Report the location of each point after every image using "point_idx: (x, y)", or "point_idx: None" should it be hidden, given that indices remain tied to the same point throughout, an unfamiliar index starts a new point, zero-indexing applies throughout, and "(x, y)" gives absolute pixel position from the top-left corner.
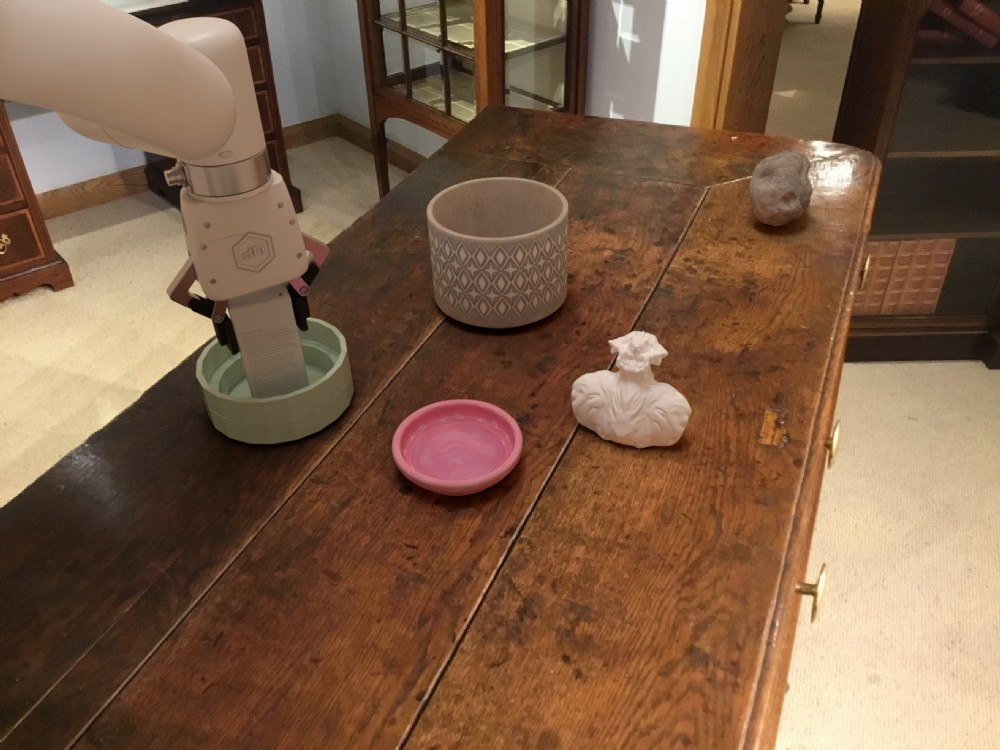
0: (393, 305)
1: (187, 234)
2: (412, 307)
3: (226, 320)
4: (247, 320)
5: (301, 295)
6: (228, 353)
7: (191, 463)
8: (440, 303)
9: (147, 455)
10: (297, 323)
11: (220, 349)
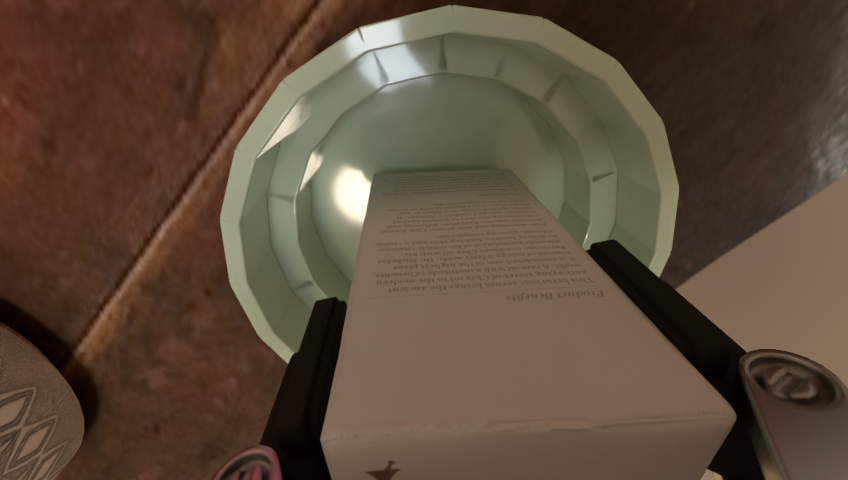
0: (191, 412)
1: None
2: (150, 399)
3: (715, 358)
4: (590, 343)
5: (271, 450)
6: None
7: (673, 56)
8: (45, 385)
9: (737, 125)
10: None
11: None
